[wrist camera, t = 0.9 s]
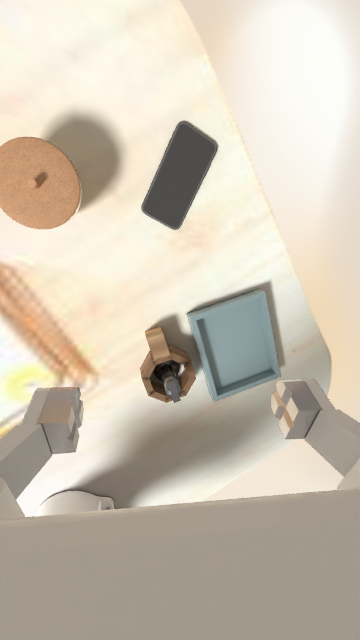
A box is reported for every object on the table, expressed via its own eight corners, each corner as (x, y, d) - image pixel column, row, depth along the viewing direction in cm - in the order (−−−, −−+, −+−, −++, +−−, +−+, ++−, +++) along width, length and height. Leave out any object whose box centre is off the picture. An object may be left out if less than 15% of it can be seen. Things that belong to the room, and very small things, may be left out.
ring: (194, 380, 57) (199, 390, 53) (150, 396, 56) (153, 407, 52) (176, 320, 53) (180, 327, 49) (128, 337, 52) (128, 345, 48)
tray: (274, 370, 60) (280, 376, 58) (210, 395, 59) (214, 401, 57) (259, 288, 54) (265, 291, 52) (186, 313, 53) (189, 317, 50)
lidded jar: (96, 220, 45) (90, 217, 36) (29, 237, 44) (6, 238, 35) (72, 146, 41) (58, 122, 33) (-2, 162, 40) (-37, 142, 31)
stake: (181, 374, 56) (192, 401, 47) (158, 383, 56) (164, 411, 47) (174, 353, 54) (185, 376, 46) (150, 362, 54) (155, 387, 45)
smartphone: (139, 210, 45) (180, 117, 42) (138, 211, 46) (178, 119, 43) (178, 232, 48) (220, 145, 45) (177, 232, 49) (218, 146, 46)
